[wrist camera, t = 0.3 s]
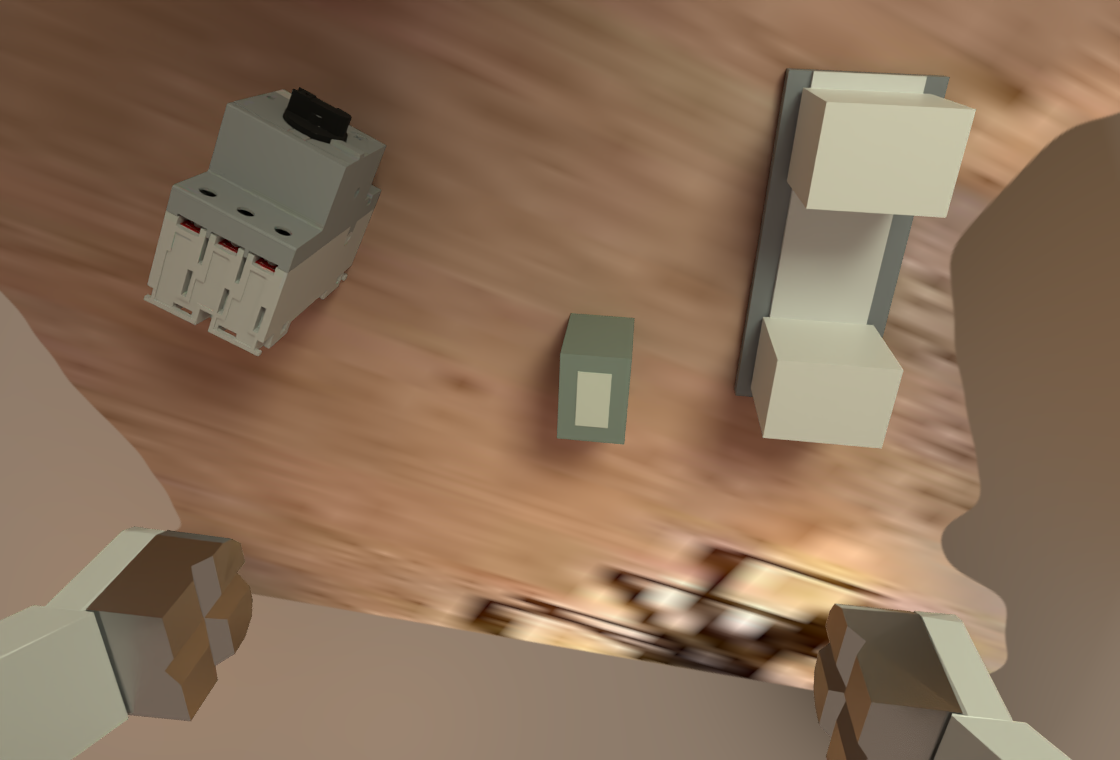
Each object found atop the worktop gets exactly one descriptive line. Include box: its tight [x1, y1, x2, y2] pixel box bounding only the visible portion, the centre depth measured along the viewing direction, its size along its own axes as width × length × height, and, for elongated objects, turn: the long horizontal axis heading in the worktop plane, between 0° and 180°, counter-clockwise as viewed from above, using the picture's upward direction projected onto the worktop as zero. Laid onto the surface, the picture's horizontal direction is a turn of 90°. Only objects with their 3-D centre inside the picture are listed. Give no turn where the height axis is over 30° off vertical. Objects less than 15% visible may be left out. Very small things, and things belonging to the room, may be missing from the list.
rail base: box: [734, 68, 976, 448], centre depth 50 cm, size 24×10×9 cm, turn 178°
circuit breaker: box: [144, 87, 386, 356], centre depth 49 cm, size 8×14×15 cm, turn 152°
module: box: [557, 313, 634, 444], centre depth 57 cm, size 7×5×8 cm
